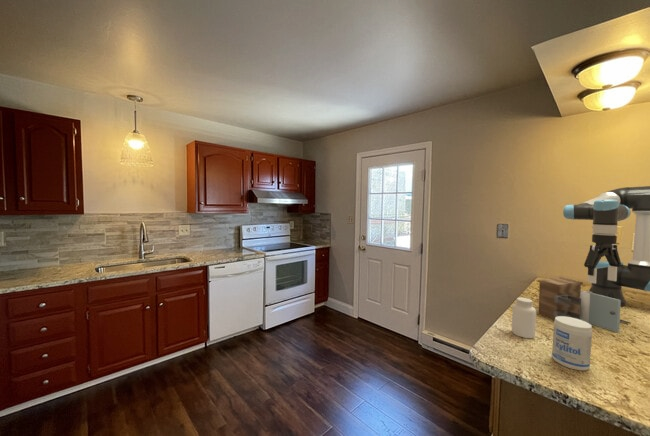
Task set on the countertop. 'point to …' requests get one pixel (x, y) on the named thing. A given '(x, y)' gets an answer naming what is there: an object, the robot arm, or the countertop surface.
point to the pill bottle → (524, 318)
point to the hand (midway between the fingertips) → (601, 281)
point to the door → (600, 310)
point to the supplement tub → (572, 342)
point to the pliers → (624, 322)
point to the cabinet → (559, 297)
